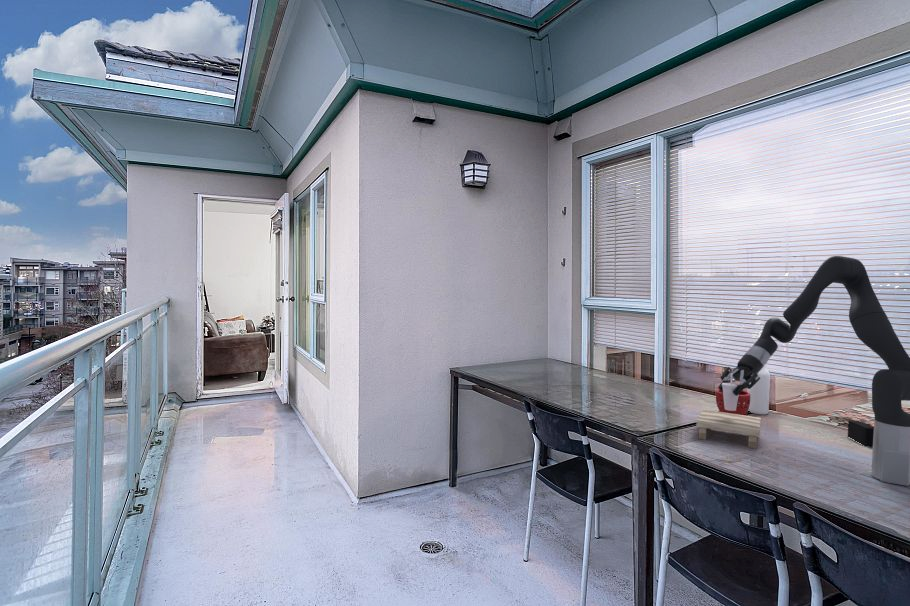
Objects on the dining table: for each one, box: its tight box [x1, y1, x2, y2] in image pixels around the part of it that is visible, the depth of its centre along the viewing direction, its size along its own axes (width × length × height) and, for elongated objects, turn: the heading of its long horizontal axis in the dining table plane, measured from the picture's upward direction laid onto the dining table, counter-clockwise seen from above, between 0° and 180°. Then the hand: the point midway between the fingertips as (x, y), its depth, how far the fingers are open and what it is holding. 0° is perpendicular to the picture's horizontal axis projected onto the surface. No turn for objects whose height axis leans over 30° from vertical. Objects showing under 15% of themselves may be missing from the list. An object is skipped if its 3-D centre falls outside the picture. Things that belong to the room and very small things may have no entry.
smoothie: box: [721, 373, 740, 411], centre depth 183 cm, size 6×6×14 cm
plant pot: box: [715, 388, 750, 416], centre depth 212 cm, size 13×13×12 cm
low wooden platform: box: [696, 409, 762, 449], centre depth 184 cm, size 20×20×7 cm
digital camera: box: [847, 420, 874, 448], centre depth 181 cm, size 10×5×7 cm, turn 170°
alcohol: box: [746, 364, 771, 416], centre depth 223 cm, size 9×9×30 cm
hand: (727, 391), depth 183 cm, fingers closed on smoothie, 6 cm apart
